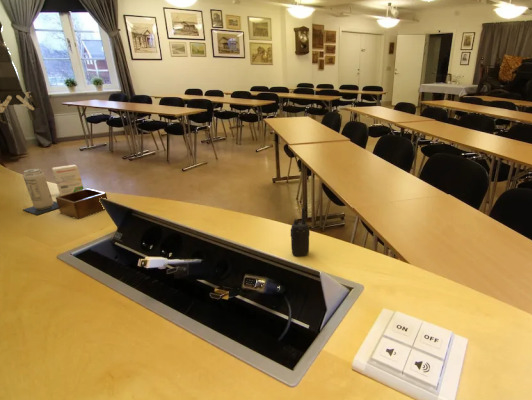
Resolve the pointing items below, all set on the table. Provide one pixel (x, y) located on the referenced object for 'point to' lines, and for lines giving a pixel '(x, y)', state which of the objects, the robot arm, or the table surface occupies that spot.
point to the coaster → (38, 212)
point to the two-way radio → (300, 236)
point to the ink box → (67, 179)
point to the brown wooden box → (80, 203)
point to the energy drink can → (38, 189)
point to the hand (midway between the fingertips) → (19, 121)
